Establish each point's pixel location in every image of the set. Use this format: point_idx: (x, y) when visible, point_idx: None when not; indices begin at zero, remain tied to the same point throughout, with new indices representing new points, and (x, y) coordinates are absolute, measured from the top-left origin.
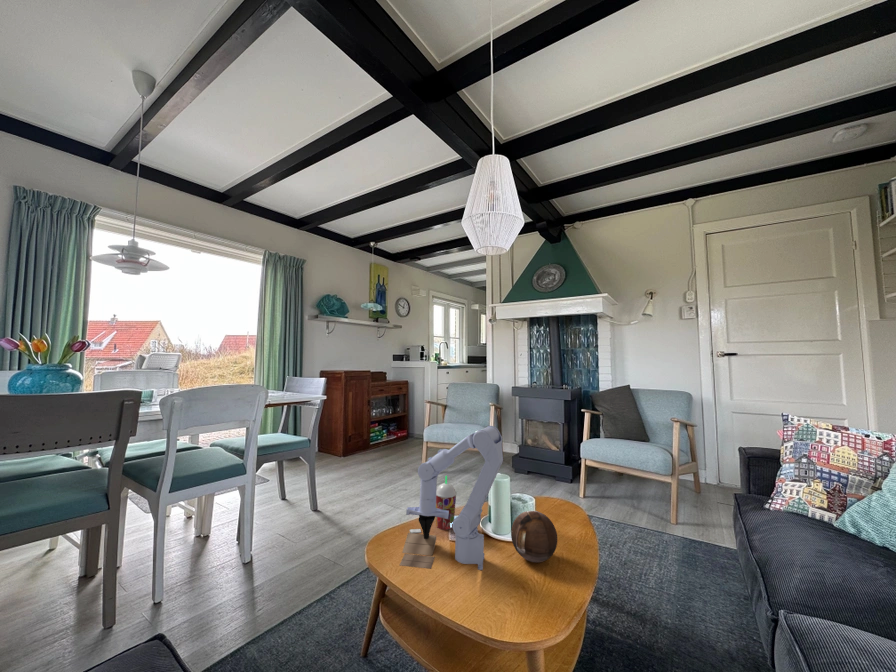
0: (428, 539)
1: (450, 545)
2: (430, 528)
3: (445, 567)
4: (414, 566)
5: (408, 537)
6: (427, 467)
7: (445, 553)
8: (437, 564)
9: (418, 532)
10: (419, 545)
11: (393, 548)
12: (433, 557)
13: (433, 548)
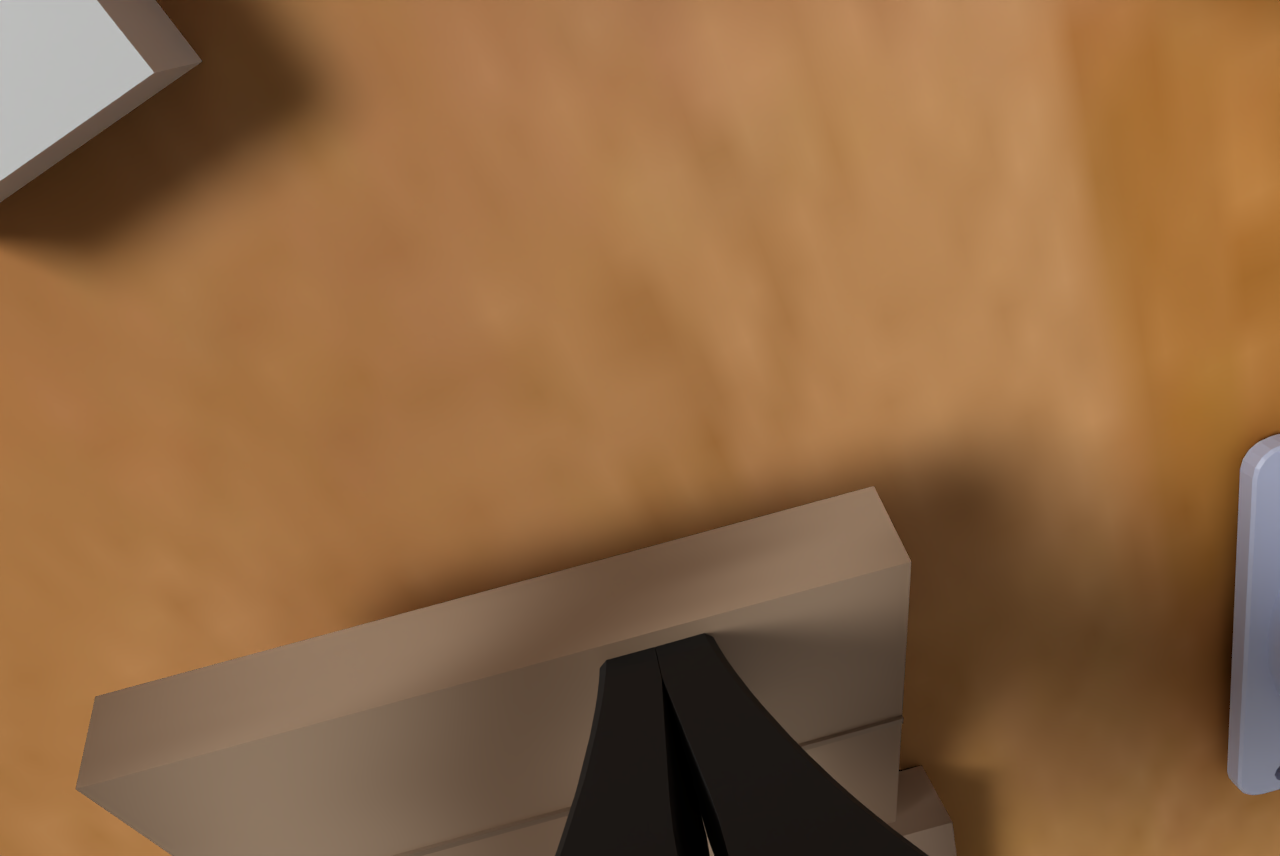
0: None
1: (1090, 146)
2: (795, 756)
3: (1117, 810)
4: None
5: (206, 834)
6: None
7: (1043, 488)
8: (984, 805)
9: (89, 115)
10: None
11: (5, 781)
12: (934, 848)
13: (898, 757)
